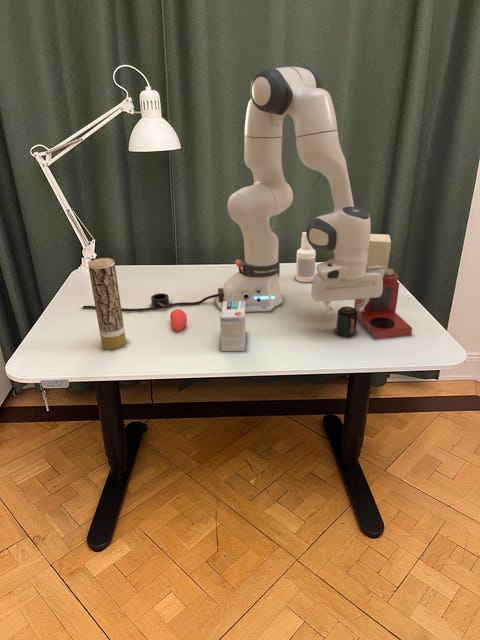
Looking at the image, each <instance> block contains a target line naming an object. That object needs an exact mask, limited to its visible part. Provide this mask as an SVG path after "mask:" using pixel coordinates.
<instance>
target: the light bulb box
mask: <svg viewBox="0 0 480 640" xmlns="http://www.w3.org/2000/svg"><path fill="white" fill-rule="evenodd" d="M219 325H220V345H221V346H220V347H221V349H220V350H221V352H245V347H246V312H245V301H223V302H222V310H221V312H220V316H219Z"/></svg>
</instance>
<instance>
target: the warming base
mask: <svg viewBox="0 0 480 640" xmlns="http://www.w3.org/2000/svg"><path fill="white" fill-rule="evenodd" d="M391 289H392V288H383V291H382V295H381V296H380V297H376V298H371V306H370V311H375V310H385V309H389V304H390V296H391ZM360 324H361V325H362V326H363V327H364V329H366V330H367V332H368V333H369V334H370V335H371V336H372V337H373V338H374V340H382V339H389V338H399V337H400V338H401V337H408V336H409V337H410V336H412V332H413V327H412V326H411V325H410V324H409V323H408V322H407V321H405V319H403V318H402V317H401V316H400V315H399V314H398V313H397V312H395V313H386V314H376V315H366V316H362V318H361V323H360Z"/></svg>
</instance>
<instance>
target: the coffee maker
mask: <svg viewBox="0 0 480 640" xmlns="http://www.w3.org/2000/svg"><path fill="white" fill-rule="evenodd" d="M382 279H383V288H392V289H391V296H390V304H389V309H385V310H375V311H370V306H371V298H369V302H368V303H367V304H366V306H364V311H363V312H358V311H357V304H360V303H361V302H362V300H363V299H354V307H353V308H355V309H356V311H357V312H358V313H357V321H358V322H359V323H360V324H361V318H362V316H366V315H376V314H386V313H397V312H396V310H397V304H398V296H399V289H400V282H398V279H399V274H398V273H397V272H395V271H394V272H393V276H392V277H385V276H384V277H383V278H382Z"/></svg>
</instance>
